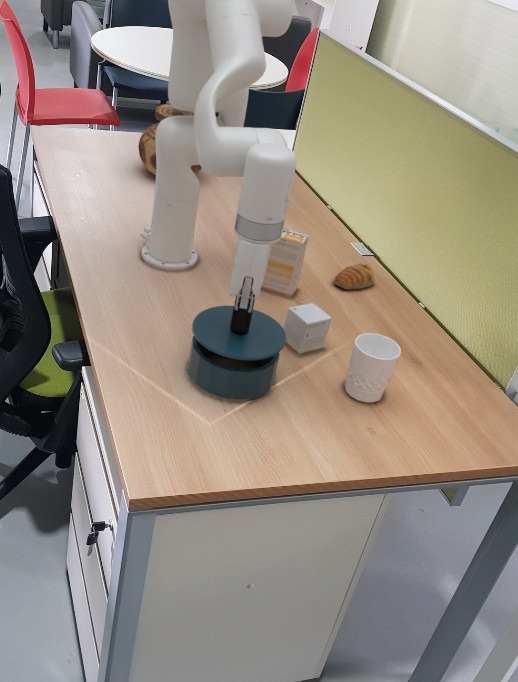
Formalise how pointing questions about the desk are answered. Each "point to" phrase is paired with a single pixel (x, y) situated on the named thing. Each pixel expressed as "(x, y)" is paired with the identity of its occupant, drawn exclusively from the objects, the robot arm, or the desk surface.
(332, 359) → the desk surface
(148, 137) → the clay pot
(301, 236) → the supplement box
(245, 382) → the pot
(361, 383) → the white cup
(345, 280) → the pastry
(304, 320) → the product box
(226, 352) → the pot lid
